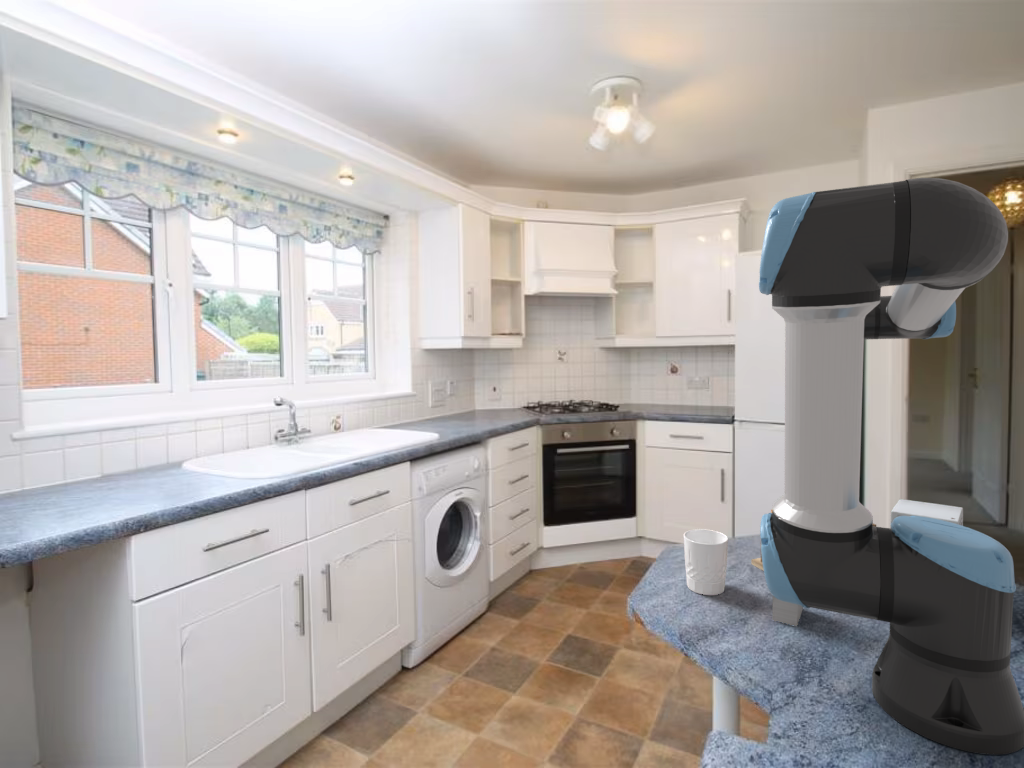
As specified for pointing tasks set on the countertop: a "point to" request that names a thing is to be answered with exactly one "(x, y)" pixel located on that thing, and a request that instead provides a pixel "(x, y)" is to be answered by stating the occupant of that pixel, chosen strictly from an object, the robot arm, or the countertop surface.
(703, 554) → the white cup
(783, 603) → the grey upright block
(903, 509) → the supplement box
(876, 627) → the countertop surface
